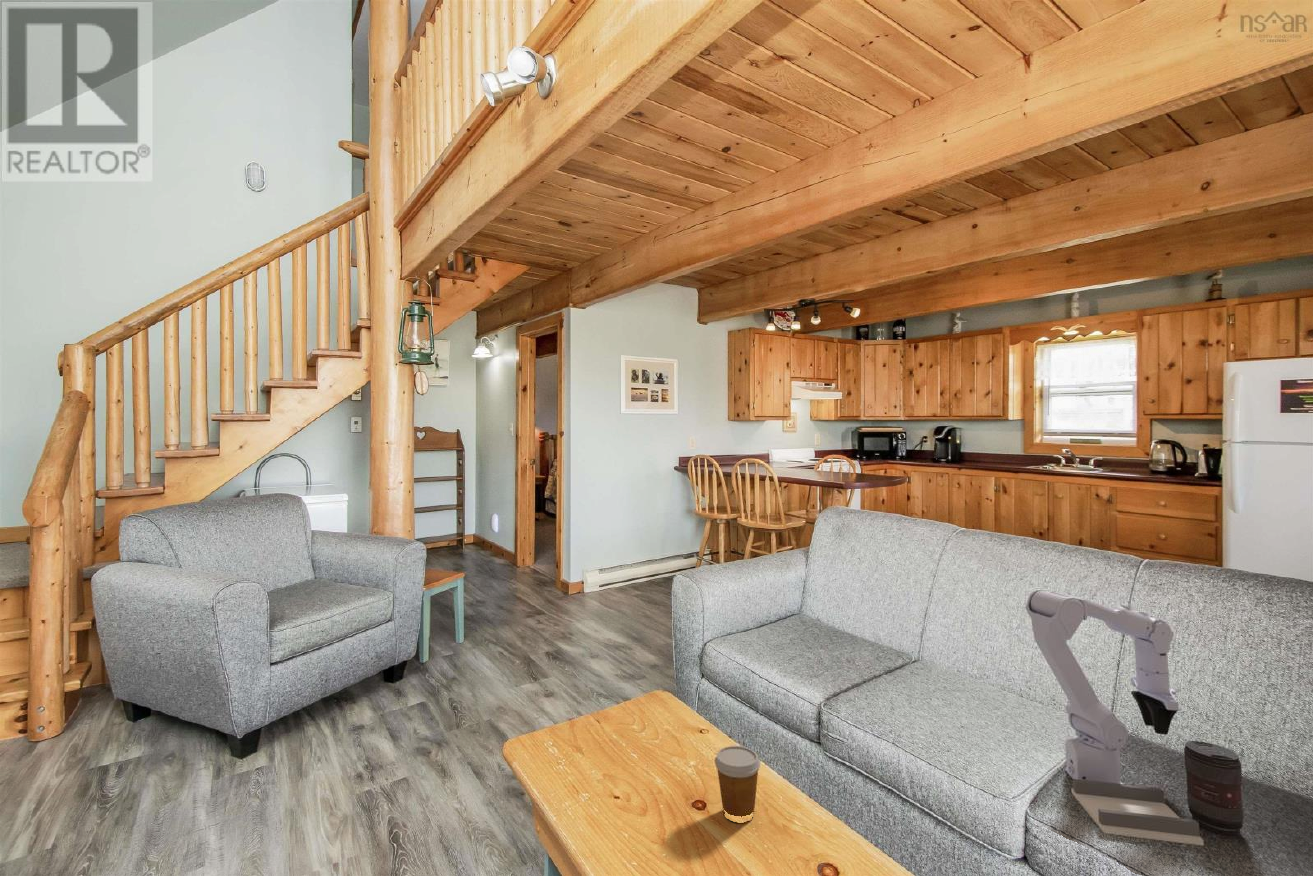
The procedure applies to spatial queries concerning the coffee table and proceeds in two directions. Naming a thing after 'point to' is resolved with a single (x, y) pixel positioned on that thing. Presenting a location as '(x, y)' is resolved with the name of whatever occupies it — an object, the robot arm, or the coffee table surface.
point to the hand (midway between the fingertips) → (1156, 729)
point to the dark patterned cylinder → (1214, 788)
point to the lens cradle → (1134, 812)
